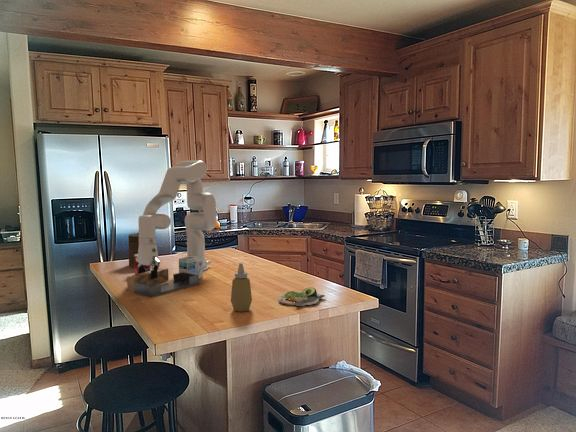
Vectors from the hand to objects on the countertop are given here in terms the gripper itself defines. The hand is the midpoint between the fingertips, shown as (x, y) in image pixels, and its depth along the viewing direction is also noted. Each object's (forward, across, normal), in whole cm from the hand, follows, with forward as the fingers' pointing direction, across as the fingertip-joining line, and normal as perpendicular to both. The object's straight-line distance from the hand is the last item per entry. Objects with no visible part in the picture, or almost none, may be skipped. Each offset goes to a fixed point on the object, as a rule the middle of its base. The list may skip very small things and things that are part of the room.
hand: (147, 277), depth 202 cm
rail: (+4, 0, 0) cm, 4 cm away
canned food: (+4, +19, -10) cm, 22 cm away
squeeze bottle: (+4, -63, +4) cm, 63 cm away
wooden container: (+3, +42, -26) cm, 50 cm away
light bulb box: (+4, -7, -20) cm, 22 cm away
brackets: (+4, -14, 0) cm, 14 cm away
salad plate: (+4, -74, -21) cm, 77 cm away
